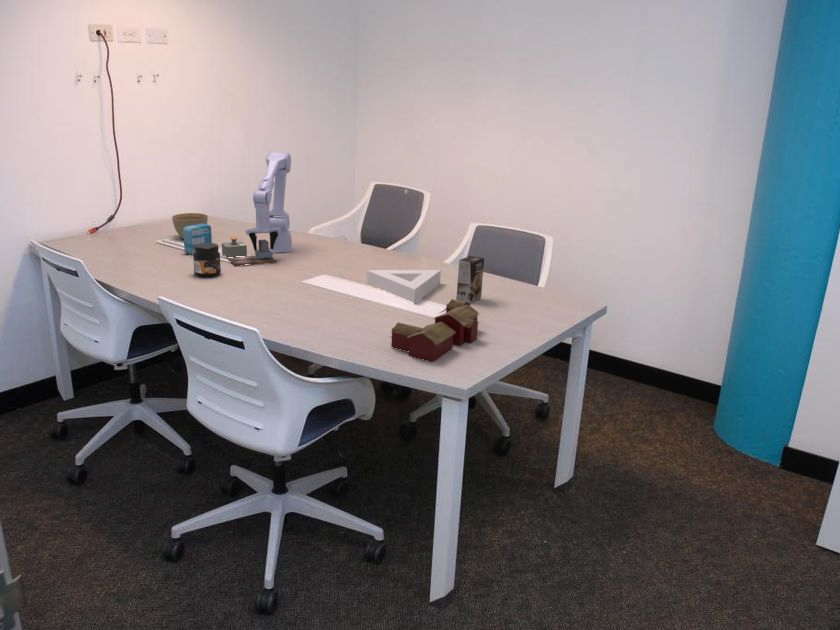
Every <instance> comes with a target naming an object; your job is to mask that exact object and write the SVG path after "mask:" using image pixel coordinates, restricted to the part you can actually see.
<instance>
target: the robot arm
mask: <svg viewBox="0 0 840 630" xmlns="http://www.w3.org/2000/svg"><path fill="white" fill-rule="evenodd" d="M265 161H266V166H267V168H266V172H265V176H263V177H262V178H261V180H260V181H259V182H260V183H259V185H258V187H257V190H255V191H253V195H252V196H253V197H252V199H253V200H252V201H253V204H254V208H255V226H256V227H254V228H246V229H245V234H246V235H248V237H249V238H250V242H251V243H252V247H253V250H254V252H255V251H257V250H258V246H257V243H258V242H257V241H258V240H257V238H258V236H257V235H256V234H269V250H270V251H272V252H273V254H274V253H275V254H276V253H287V252H293V249H292V246H293V245H292V234H291V231H289V229H290V226H291V225H290V223H291V222H290V215H289V214H288V213H287V212H286V211H285V209H284V208H285V195H286V184H287V183H286V182H287V174H288V173H290V172H291V169H292V168H291V167H292V157H291V154H290V153H289V152H277V151H276V152H275V151H274V152H273V151H267V154H266V156H265ZM272 192H273V193H272ZM272 195H273V196H272ZM272 197H273V200H272ZM272 201H273V203H272V209H271V210H270V205H271V202H272Z"/></svg>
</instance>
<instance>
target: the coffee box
mask: <svg viewBox="0 0 840 630" xmlns="http://www.w3.org/2000/svg"><path fill="white" fill-rule="evenodd" d="M458 261H459V262H458V273H457V285H456V289H457V290H456V299H455V300H459V301H462V302H463V301H464V302H468V303H470V305H471V304H473V303H474V302H477V301H479V300H480V298H481V299H482V291H483V277H484V267H485V266H484V265H485V258H484V257H480V256H472V255H469V256H466V257H464V258H461V259H459V260H458Z"/></svg>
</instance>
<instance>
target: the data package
mask: <svg viewBox="0 0 840 630" xmlns="http://www.w3.org/2000/svg"><path fill="white" fill-rule="evenodd" d="M183 234H184V240H183V247H184V248H183V249H184V253H186V254H188V255H192V256H193V253H194V252H195V251H194V245H196V244H199V243H213V241H212V238H213V237H212V226H211V225H209V224H207V225H206V224H197V225H192V226H187V227H185V228H184V229H183Z"/></svg>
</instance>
